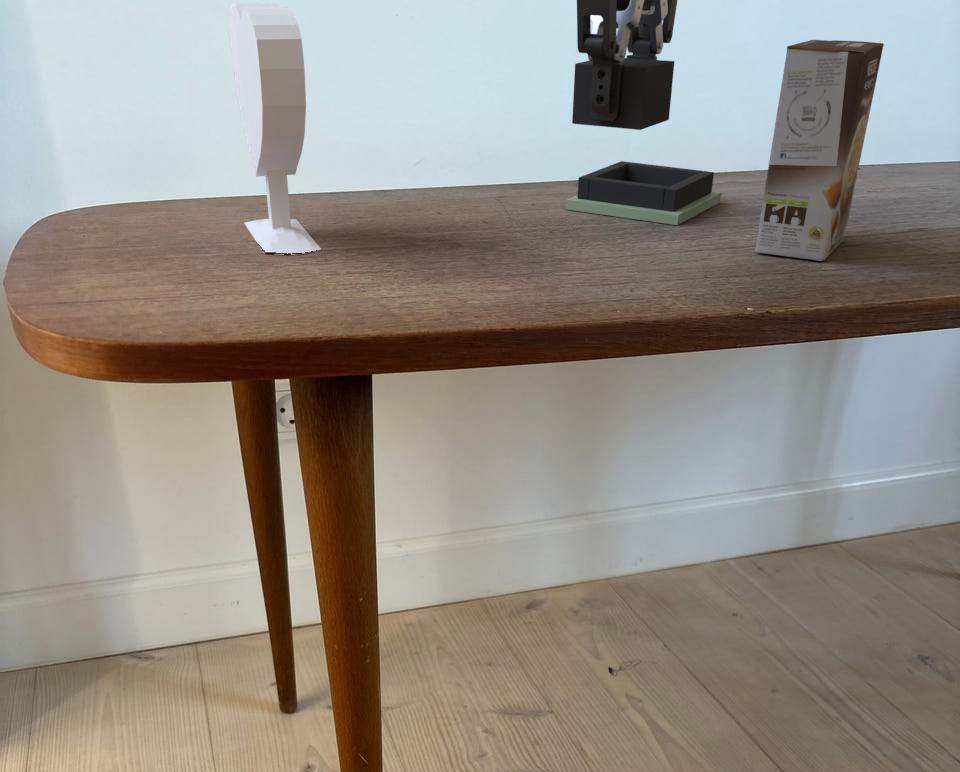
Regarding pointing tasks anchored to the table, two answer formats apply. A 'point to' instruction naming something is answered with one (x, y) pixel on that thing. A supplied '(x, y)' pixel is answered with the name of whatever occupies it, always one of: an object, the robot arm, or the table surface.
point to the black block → (629, 94)
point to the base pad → (645, 192)
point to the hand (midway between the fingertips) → (621, 113)
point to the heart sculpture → (271, 113)
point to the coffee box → (817, 146)
